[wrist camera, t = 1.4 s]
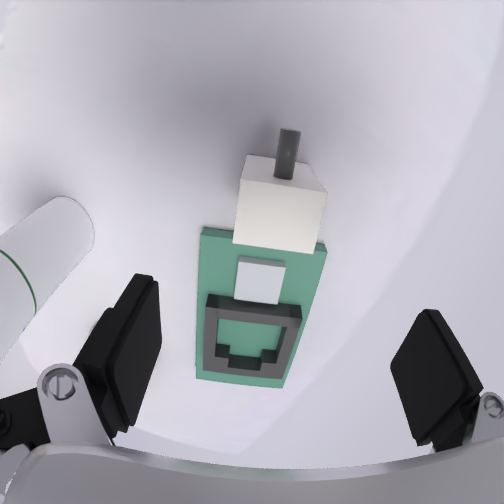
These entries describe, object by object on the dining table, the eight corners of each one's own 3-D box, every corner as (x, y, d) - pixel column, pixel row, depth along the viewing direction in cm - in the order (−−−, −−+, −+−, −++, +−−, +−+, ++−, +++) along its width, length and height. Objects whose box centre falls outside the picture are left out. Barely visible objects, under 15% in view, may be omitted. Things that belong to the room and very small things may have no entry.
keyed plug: (252, 118, 22) (247, 126, 15) (314, 128, 22) (339, 142, 15) (239, 211, 26) (230, 257, 19) (297, 219, 26) (309, 267, 19)
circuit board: (203, 227, 27) (196, 245, 24) (324, 244, 27) (331, 264, 24) (197, 369, 36) (193, 390, 33) (281, 379, 37) (282, 400, 34)
